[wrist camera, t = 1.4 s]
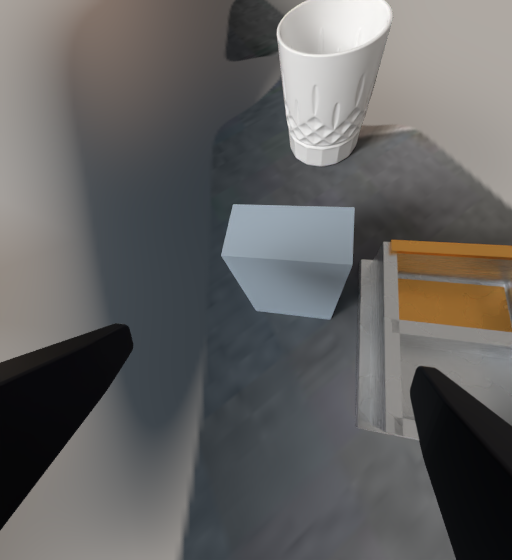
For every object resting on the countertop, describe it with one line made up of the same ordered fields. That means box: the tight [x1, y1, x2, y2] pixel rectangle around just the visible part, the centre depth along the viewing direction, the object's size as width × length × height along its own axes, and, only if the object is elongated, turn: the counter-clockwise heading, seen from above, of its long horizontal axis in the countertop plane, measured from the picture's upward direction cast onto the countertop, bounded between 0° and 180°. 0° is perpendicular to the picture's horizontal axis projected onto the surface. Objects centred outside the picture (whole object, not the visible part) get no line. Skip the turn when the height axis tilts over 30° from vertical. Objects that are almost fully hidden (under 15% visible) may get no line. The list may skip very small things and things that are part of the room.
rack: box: [355, 240, 512, 440], centre depth 16 cm, size 12×11×5 cm
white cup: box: [277, 0, 393, 166], centre depth 23 cm, size 8×8×10 cm
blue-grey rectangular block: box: [221, 204, 355, 319], centre depth 17 cm, size 3×6×10 cm, turn 82°
